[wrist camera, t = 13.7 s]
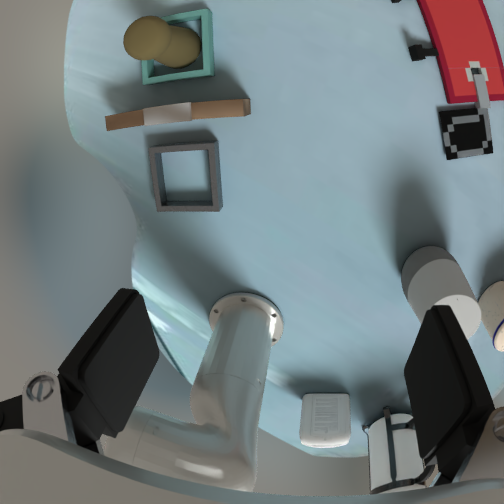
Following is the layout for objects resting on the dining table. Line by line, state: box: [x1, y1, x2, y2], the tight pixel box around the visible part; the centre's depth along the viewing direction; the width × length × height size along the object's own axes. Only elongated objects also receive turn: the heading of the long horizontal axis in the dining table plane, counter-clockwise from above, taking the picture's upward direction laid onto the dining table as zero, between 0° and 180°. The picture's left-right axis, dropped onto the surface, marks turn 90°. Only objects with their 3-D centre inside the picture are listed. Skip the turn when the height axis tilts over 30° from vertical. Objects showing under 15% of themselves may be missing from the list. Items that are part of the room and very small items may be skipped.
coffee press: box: [362, 406, 435, 495], centre depth 48 cm, size 17×16×30 cm
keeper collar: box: [149, 141, 223, 212], centre depth 40 cm, size 9×9×2 cm
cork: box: [123, 16, 201, 69], centre depth 28 cm, size 6×6×11 cm
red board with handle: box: [391, 0, 504, 160], centre depth 26 cm, size 30×3×15 cm
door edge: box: [105, 99, 251, 131], centre depth 35 cm, size 2×18×5 cm, turn 92°
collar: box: [141, 9, 215, 85], centre depth 32 cm, size 9×9×2 cm
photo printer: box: [299, 394, 351, 448], centre depth 54 cm, size 10×4×12 cm, turn 96°
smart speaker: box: [401, 246, 481, 339], centre depth 36 cm, size 10×9×14 cm
